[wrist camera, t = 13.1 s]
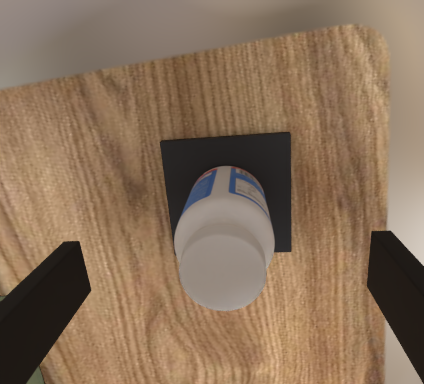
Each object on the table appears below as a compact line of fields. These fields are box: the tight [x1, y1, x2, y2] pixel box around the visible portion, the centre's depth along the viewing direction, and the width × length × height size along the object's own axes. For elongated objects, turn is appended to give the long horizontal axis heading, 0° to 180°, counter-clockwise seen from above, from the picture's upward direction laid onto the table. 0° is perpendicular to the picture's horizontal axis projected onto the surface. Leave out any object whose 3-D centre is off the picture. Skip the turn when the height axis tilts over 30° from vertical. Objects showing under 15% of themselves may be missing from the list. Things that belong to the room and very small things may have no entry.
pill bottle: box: [174, 166, 275, 311], centre depth 19 cm, size 6×5×10 cm
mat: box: [160, 132, 291, 255], centre depth 24 cm, size 9×9×1 cm
